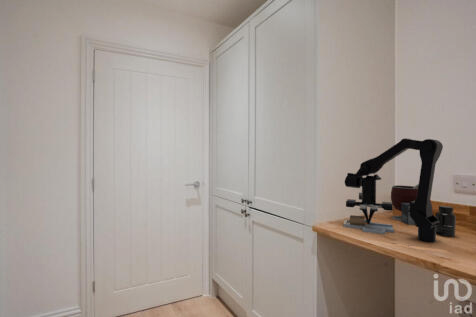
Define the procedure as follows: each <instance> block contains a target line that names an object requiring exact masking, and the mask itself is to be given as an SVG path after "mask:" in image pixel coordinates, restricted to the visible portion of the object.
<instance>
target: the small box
mask: <svg viewBox="0 0 476 317" xmlns="http://www.w3.org/2000/svg"><path fill="white" fill-rule="evenodd" d="M409 209H410V203H401V211H400V212H401V213H400V214H401V215H400V216H401V221H400V222H401V223H403V224H405V225H408V226H416V225H415V222H414V220H412V218H411V217H410V212H408V211H409Z"/></svg>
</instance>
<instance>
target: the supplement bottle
mask: <svg viewBox="0 0 476 317" xmlns="http://www.w3.org/2000/svg"><path fill="white" fill-rule="evenodd" d="M453 212H454V207H453V206H448V205H439V206H438V211H437V212H436V213H435V217H436V218H437V219H438V220H439V221H440V222H439V224H438V226H435V227H436V235H437V236H440V237H441V236H442V237H445V238H446V237H448V238H449V237H451V238H452V237H455V236H456V222H457V221H456V220H457V216H456V215H455V213H453Z"/></svg>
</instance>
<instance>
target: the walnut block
mask: <svg viewBox="0 0 476 317" xmlns="http://www.w3.org/2000/svg"><path fill="white" fill-rule="evenodd" d="M349 220H350V225H357V226H365V223H366V222H365V220H366V218H365V215H352V214H351V215H350V216H349Z"/></svg>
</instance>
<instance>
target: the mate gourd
mask: <svg viewBox="0 0 476 317" xmlns="http://www.w3.org/2000/svg"><path fill="white" fill-rule="evenodd" d="M418 185H419V183H418V184H415V185H413V186H412V185H401V184H400V185H398V184H397V185H392V187H391V192H390V201H391V203H392V205H393V208H394V209H396V210H397V211H400V212H401V203H410V202H412V201H415V200H416V198H417V192H418ZM392 219H393V220H395V221H397V222H401V215H393V216H392Z"/></svg>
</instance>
